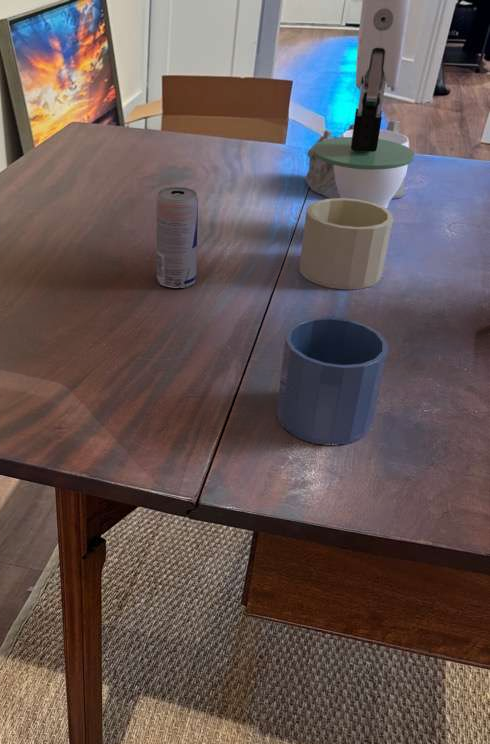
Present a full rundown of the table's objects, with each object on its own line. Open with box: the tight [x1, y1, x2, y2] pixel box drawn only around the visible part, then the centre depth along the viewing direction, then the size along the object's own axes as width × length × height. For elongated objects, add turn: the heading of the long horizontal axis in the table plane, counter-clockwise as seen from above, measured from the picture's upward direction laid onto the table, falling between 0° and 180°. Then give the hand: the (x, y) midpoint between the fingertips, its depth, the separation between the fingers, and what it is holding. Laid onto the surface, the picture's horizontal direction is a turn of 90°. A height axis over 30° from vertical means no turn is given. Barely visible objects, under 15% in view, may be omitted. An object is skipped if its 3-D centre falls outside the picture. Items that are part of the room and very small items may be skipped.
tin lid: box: [313, 109, 415, 170], centre depth 90 cm, size 13×13×6 cm
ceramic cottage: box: [304, 119, 405, 201], centre depth 126 cm, size 16×16×15 cm
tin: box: [299, 198, 394, 290], centre depth 99 cm, size 12×12×8 cm
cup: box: [334, 128, 410, 209], centre depth 107 cm, size 11×11×15 cm
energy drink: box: [155, 186, 199, 288], centre depth 94 cm, size 5×5×12 cm
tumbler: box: [276, 316, 388, 446], centre depth 70 cm, size 10×10×9 cm
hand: (363, 145), depth 91 cm, fingers closed on tin lid, 2 cm apart
